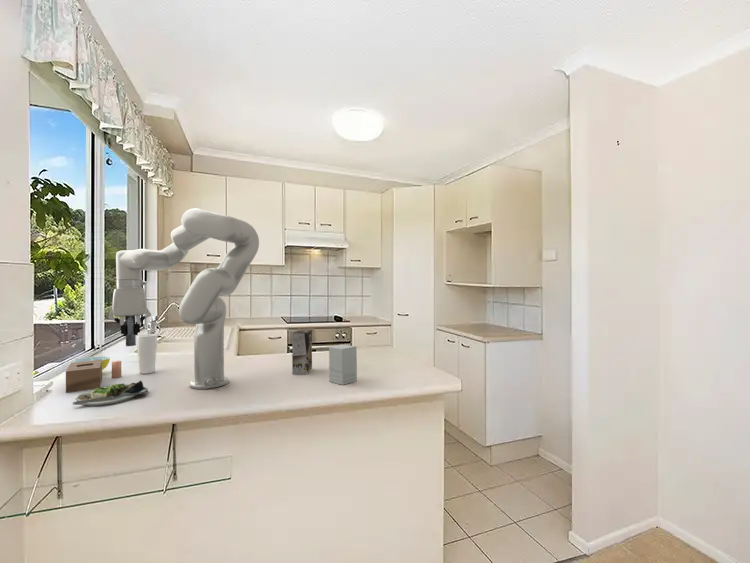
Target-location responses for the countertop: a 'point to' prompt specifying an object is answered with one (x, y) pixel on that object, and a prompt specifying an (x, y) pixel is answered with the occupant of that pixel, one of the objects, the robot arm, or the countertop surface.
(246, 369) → the countertop surface
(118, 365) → the short pin
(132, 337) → the long pin
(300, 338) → the coffee box
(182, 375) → the countertop surface
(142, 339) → the drinking glass
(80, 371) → the brown slotted box
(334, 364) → the supplement box
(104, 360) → the bowl
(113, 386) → the salad plate
